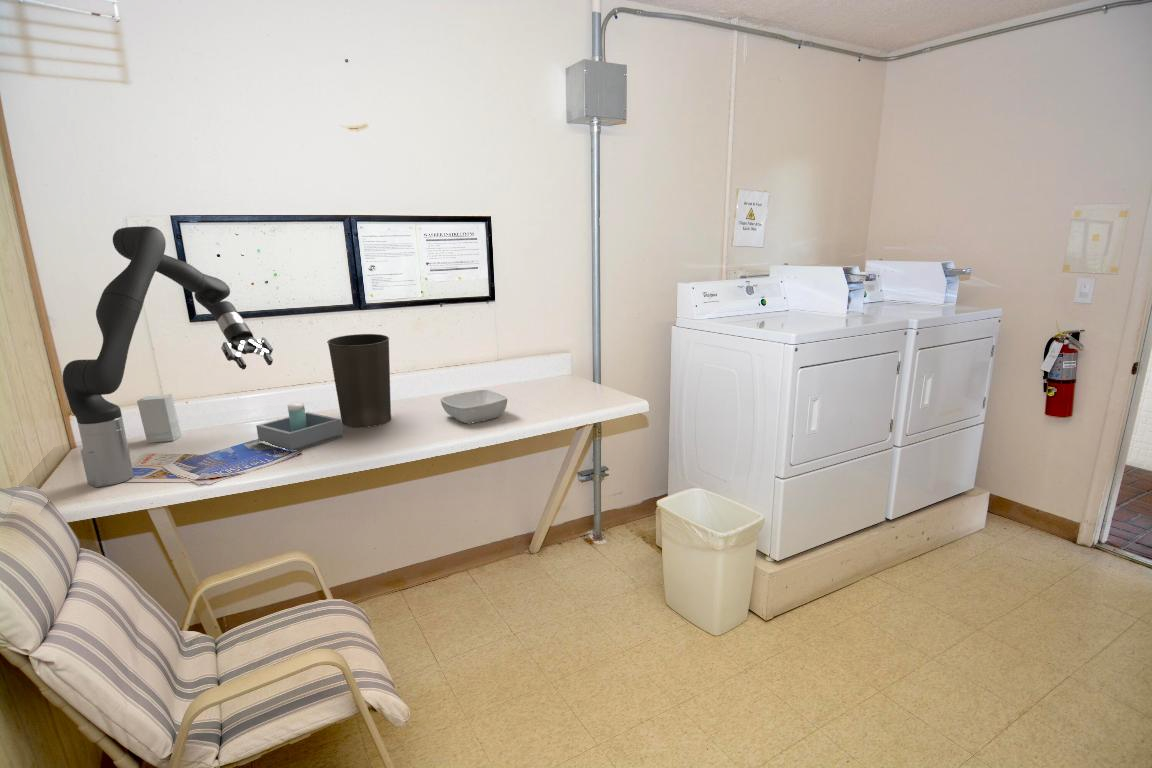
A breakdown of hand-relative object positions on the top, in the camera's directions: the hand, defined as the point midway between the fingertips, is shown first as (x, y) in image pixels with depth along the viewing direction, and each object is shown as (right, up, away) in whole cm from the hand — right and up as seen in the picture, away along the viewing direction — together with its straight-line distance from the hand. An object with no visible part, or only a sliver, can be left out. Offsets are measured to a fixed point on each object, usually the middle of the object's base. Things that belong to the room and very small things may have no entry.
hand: (258, 365), depth 189 cm
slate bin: (+14, -24, 0) cm, 28 cm away
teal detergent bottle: (+14, -23, 0) cm, 27 cm away
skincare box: (-33, -25, +3) cm, 41 cm away
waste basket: (+29, -20, +20) cm, 40 cm away
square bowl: (+67, -19, +22) cm, 73 cm away
